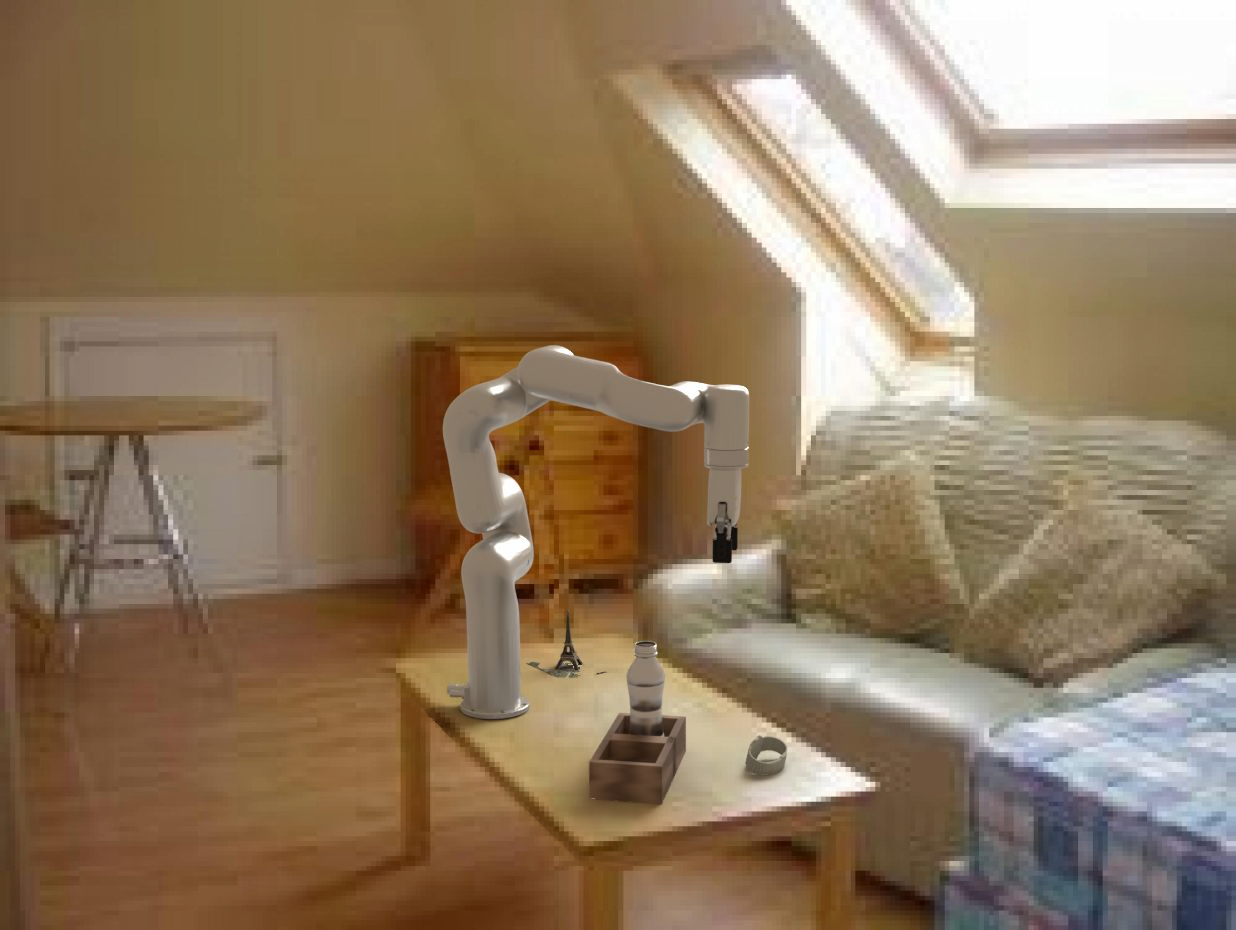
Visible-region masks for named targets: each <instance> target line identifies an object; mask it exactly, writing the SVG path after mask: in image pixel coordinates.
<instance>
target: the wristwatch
mask: <svg viewBox="0 0 1236 930" xmlns="http://www.w3.org/2000/svg"><path fill="white" fill-rule="evenodd" d="M766 751H771V752H775V753H778V754H779V755H780V756H779V757H778V758H777V759H776V760H772V761H766V762H763V761H760V760H758V758H759V756H760V754H761V752H762V753H763V752H766ZM787 752H788V745H787V744H786V743H785V742H784V740H782V739H780V738H777V737H776V736H770V735H769V736H768V735H766V736H763V735H761V734H759V735H758V736H756V737H755V738H754V739H753V740H752V741H751V742H750V743H749V747H748V749H747V754H746V759H745V769H746V770H747V771H748V772H749V773H752V774H754V775H759V776H766V775H767V776H769V775H773V774H775V773H777V772H779V771H780V770H782V769H784V768H785V765H786V761H787V756H788V753H787Z"/></svg>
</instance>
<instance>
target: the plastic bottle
mask: <svg viewBox="0 0 1236 930" xmlns="http://www.w3.org/2000/svg"><path fill="white" fill-rule="evenodd" d="M657 648H658V647H657V643H656V642H655V641H652V640H641V641H637V642H635V643H634V652H633V656H634V657H635V659H634V660H633V661H632V662H631V664H630V666H629V668H627V672H626V683H627V691H628V692H627V693H628V696H629V697H628V698H629V707H630V708H629V711H630V728H629V734H630V735H646V736H663V737H665V736H664V732H663V721H662V715H663V714H662V713H663V707H662V706H663V695H664V689H665V682H666V674H665V670H664V668H663V666H662V665H661V663H660V662H659V661H658V659H657V655H658V650H657Z"/></svg>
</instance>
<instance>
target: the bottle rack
mask: <svg viewBox="0 0 1236 930" xmlns="http://www.w3.org/2000/svg"><path fill="white" fill-rule="evenodd" d="M662 721H663V732H664V736H665V737H663V736H646V735H630V734H629V728H630V713H629V712H627V713H626V712H618V713H617V715H616V717H615V718H614V720H613V722H612V724H611V725H610V727H609V729H608V730H607V732H606V734H605V735H604V737H603V739H602V740H601V742H600V744H599V745H598V747H597V748H596V750H595V752H594V754H592V757H591V758H590V759H589V760H588V761H589V762H588V769H589V770H588V773H589V774H588V775H589V776H588V777H589V781H588V782H589V785H588V786H589V791H588V792H589V799H590V798H595V799H594V800H599V799H604V800H603V801H614V800H618V801H617V802H628V801H631V803H642V802H643V803H645V804H656V805H657V804H660V805H662V804H663V803H664V801H663V800H665V799H664V798H666V797H667V793H668V791H669V789H670V787H671V785H672V783H673V781H674V778H675V776H676V774H677V771H678V770H679V767H680V765H681V763H682V761H683V758H684V756H685V753H687V732H686V731H687V726H686V725H687V717H686V716H683V715H681V716H680V715H679V716H678V715H666V714H665V715H663V714H662ZM671 782H672V783H671Z"/></svg>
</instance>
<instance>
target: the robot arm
mask: <svg viewBox="0 0 1236 930" xmlns="http://www.w3.org/2000/svg"><path fill="white" fill-rule="evenodd" d="M550 401H553V402H558V403H563V404H566V405H571V406H575V407H580V408H584V409H588V410H591V411H596V412H600V413H602V414H604V415H606V416H608V417H609V416H610V417H612V418H615V419H618V420H620V421H623V422H626V423H630V424H633V425H637V426H642V427H645V428H649V429H655V430H659V431H664V432H672V433H673V432H680V431H684V430H686V429H688V428H690V427H691V426H694V425H697V424H704V427H703V428H704V431H703V432H704V434H703V435H704V437H703V439H704V443H703V444H704V445H703V448H704V450H703V454H704V455H703V456H704V457H703V460H704V461H703V463H704V464H703V467H704V468H707V469H709V471H708V472H709V474H708V486H707V511H706V525H708V526H709V527H711V526H712V525H714V529H713V539H712V563H714V564H731V563H732V559H733V558H732V557H733V555H732V554H733V551H737V550H738V545H739V544H738V542H739V541H738V540H739V539H738V537H739V536H738V535H739V531H738V530H739V529H738V527H739V526H738V520H739V519H740V514H741V503H742V502H741V500H742V470H743V469H747V468H749V457H750V456H749V450H750V449H749V448H750V447H749V446H750V444H749V443H750V441H749V439H750V437H749V436H750V434H749V433H750V432H749V431H750V393H749V389H747V388H746V387H745V386H743V385H739V384H728V383H727V384H715V385H713V384H707V383H702V382H696V381H687V380H686V381H679V382H677V383H674V384H672V385H670V386H668V385H663V384H656V383H652V382H648V381H644V380H641V379H637V378H633V377H630V376H628V375H626V374H624V373H622V372H621V371H620V369H619V368H618V367H617V366H616V365H615V364H612V363H610V362H608V361H607V362H606V361H602V360H597V359H592V358H589V357H588V358H587V357H583V356H578V355H574V353H573V352H571V350H569V349H568V348H566V347H564V346H560V345H557V344H555V345H553V344H552V345H547V346H546V345H545V346H543V347H539V348H535V349H532V350H530V351H529V352H527V353H526V354H525V355H523V357H522V358H521V360H520V361H519V363H518V366H516V367H514V368H513V369H511V370H510V371H508V372H506V373H504V374H503V375H501V376H500V377H498V378H495V379H492V380H489V381H484V382H482V383H479V384H475V385H474V386H471V387H470V388H468V389H466V390H464V391H463V392H462V393H460V394H459V395H458V396H457V397H456V398H455V399H454V400H453V401H452V402H451V403H450V404H449V406H448V407H447V409H446V411H445V414H444V417H443V423H442V435H443V442H444V447H445V451H446V455H447V461H448V467H449V473H450V479H451V485H452V491H453V495H454V502H455V508H456V512H457V513H456V514H457V517H458V519H459V522H460V524H461V525H462V526H463V528H464V529H465V530H466V531H468V532H470V533H473V534H482V540H480V541H479V542H477V543H475V544H474V545H473V546H471V548H470V549H469V550H468V551H467V553H466V554H465V556H464V557H463V560H462V564H461V570H460V573H461V574H460V575H461V576H460V577H461V581H462V588H463V592H464V599H465V600H464V601H465V611H466V612H465V613H466V615H465V616H466V617H465V618H466V635H467V636H466V639H467V641H466V642H467V643H466V644H467V669H468V670H467V671H468V672H467V673H468V674H467V675H468V677H467V679H468V682H465V683H464V684H459V683H448V684H447V687H446V691H447V692H446V693H447V694H448V695H449V697H450V698H461V699H462V700H461V702H460V711H461V712H462V714H464V715H466V716H467V717H471V718H475V719H482V720H483V719H484V720H499V719H501V720H502V719H503V720H504V719H509V718H514V717H517V716H520V715H523V714H525V713H526V712H528V710H529V709H530V703H531V702H530V700H529V699H528V697H526V696H525V695H522V685H521V684H522V683H521V674H522V673H521V640H520V639H521V637H520V636H521V632H520V629H521V628H520V626H521V625H520V610H519V609H520V608H519V602H518V598H517V592H516V588H515V586H516V585H515V584H516V583H515V582H517V581H518V580H519V579H521V578H523V577H524V576H525V575H526V574H527V573H528V572H529V570H530V569H531V568H532V565H533V562H534V557H535V555H534V554H535V553H534V551H535V550H534V542H533V537H532V531H531V526H530V521H529V515H528V508H527V504H526V499H525V496H524V492H523V490H522V489H521V487H520V485H519V484H518V482H517V481H516V479H514V478H513V477H511V476H510V475H507V474H505V473H503V472H499V469H498V462H497V457H496V453H495V449H494V447H493V444H492V442H491V440H490V434H491V432H493V431H495V430H497V429H500V428H503V427H506V426H509V425H511V424H513V423H516V422H517V421H519V420H521V419H523V418H525V417H526V416H528V415H530V414H531V413H532V412H534V411H535V410H537V409H539V408H540V407H542V406H543V405H545V404H547V403H548V402H550Z"/></svg>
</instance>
